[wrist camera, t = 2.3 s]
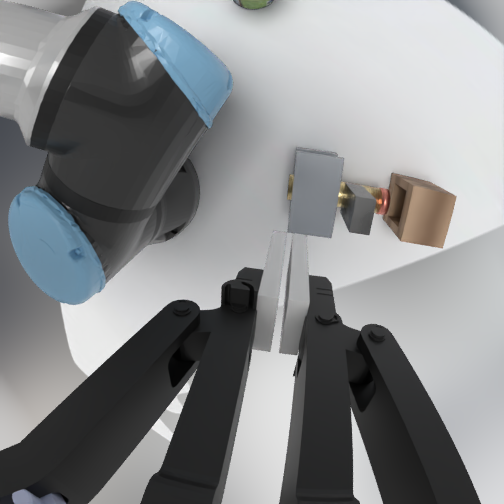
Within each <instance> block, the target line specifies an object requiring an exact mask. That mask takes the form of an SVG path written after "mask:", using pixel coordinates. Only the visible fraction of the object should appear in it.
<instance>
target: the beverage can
mask: <svg viewBox="0 0 504 504" xmlns="http://www.w3.org/2000/svg"><path fill="white" fill-rule="evenodd" d="M233 1H234V2H235V3H236V4H238V5H239V6H241V7H244V8H248V9H259V8H263V7H265V6H267V5H269V4H270V3H272V2H273V0H233Z"/></svg>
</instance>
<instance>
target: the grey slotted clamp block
mask: <svg viewBox="0 0 504 504" xmlns="http://www.w3.org/2000/svg"><path fill="white" fill-rule="evenodd" d="M337 156H338V154H337V153H334V152H327V151H321V150H314V149H307V148H299V147H297V150H296V160H295V169H294V182H293V190H292V199H291V204H290V212H289V223H288V232H289V233H297V234H304V235H312V236H319V237H326V238H331V237H332V232H333V226H334V221H335V215H336V209H337V203H338V197H339V191H340V184H341V178H342V171H343V164H344V158H341V157H337Z"/></svg>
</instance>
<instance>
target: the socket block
mask: <svg viewBox="0 0 504 504" xmlns="http://www.w3.org/2000/svg"><path fill="white" fill-rule="evenodd" d="M389 192H390V206H389V209H388V212H387V214H386V215H384V216H383V220H384V221H385V222H386V223H387V225H388V226H389V227H390V228H391V229H392V231H393V232H394V233H395V235H396V236H397V237H398V238H399V240H400V241H402V242H409V243H414V244H420V245H426V246H432V247H438V248H443V245H444V242H445V238H446V235H447V232H448V228H449V224H450V221H451V217H452V213H453V209H454V205H455V201H456V196H455V195H453V194H451V193H449V192H448V191H446V190H444V189H442V188H440V187H438V186H437V185H435V184H433V183H431V182H428V181H424V180H420V179H416V178H412V177H408V176H403V175H399V174H394V173H392V175H391V180H390V186H389Z"/></svg>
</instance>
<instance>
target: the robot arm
mask: <svg viewBox="0 0 504 504" xmlns="http://www.w3.org/2000/svg"><path fill="white" fill-rule="evenodd" d="M118 12H119V14H116V13H113V12H111V11H108V10H106V9H103V8H100V7H98V6H96V7H93V8H90V9H88V10H85V11H83V12H81V13H78V14H76V15H73V16H67V17H66V16H63V15H60V14H56V13H53V12H50V11H46V10H43V9H39V8H35V7H31V6H26V5H22V4H18V3H13V2H8V1H3V0H0V116H1V117H5V118H8V119H12V120H15V121H16V122H17V123H18V124H19V126H20V129H21V131H22V134H23V137H24V139H25V142H26V144H27V145H28V146H32V147H35V148H38V149H42V150H45V151H48V155H47V158H46V161H45V164H44V167H43V170H42V173H41V177H40V180H39V182H38V183H37V185H36V186H31V187H30V186H29V187H26V188H24V190H22V192H21V193H20V194H18V195H17V196H16V197H15V198H14V200H13V201H12V203H11V206H10V209H9V218H8V223H9V232H10V237H11V241H12V244H13V247H14V250H15V252H16V254H17V256H18V258H19V261H20V262H21V264H22V266H23V268H24V269H25V271H26V272H27V274H28V275H29V277H30V278H31V279H32V280H33V282H34V283H35V284H36V285H37V286H38V287H39V288H40V289H41V290H42V291H43V292H45V293H46V294H47V295H48V296H50V297H51V298H53V299H55V300H57V301H59V302H61V303H67V304H71V305H77V304H81V303H84V302H85V301H87V300H88V299H89V298H91V297H92V296H93V295H94V294H95V293H98V292H101V290H103V288H104V287H105V284H106V283H107V282H108V281H109V280H110V279H111V278H112V277H114V276H115V275H116V274H117V273H118V272H119V271H120V270H121V269H122V268H123V267H124V266H125V265H126V264H127V263H128V262H129V261H130V260H131V259H133V258H134V257H135V256H136V255H137V254H138V253H139V252H140V251H141V250H142V249H143V248H145V247H146V246H147V245H151V244H156V243H161V242H164V241H167V240H170V239H171V238H173V237H175V236H176V235H178V234H179V233H180V232H181V231H182V230H183V229H184V228H185V227H186V226H187V225H188V224H189V223H190V222H191V220H192V219H193V217H194V215H195V213H196V210H197V207H198V203H199V194H200V191H199V182H198V177H197V174H196V172H195V169H194V167H193V165H192V163H191V162H190V160H189V159H188V156H189V155H190V153H191V152H192V150H193V149H194V147H195V146H196V144H197V143H198V141H199V140H200V139H201V137H202V136H203V134H204V133H205V132H206V130H207V129H210V128H211V127H212V124H213V122H212V121H213V119H214V117H215V116H216V114H217V113H218V111H219V110H220V108H221V107H222V105H223V104H224V103H225V101H226V100H227V98H228V97H229V95H230V93H231V91H232V88H233V79H232V76H231V73H230V71H229V70H228V68H227V67H226V66H225V65H224V63H223V62H222V61H221V60H220V59H219V58H218V57H217V56H216V55H215V54H214V53H212V52H211V51H210V50H209V49H208V48H207V47H206V46H205V45H203V44H202V43H201V42H200V41H199V40H197V39H196V38H195V37H194V36H192V35H191V34H190V33H188V32H187V31H186V30H184V29H183V28H182V27H180V26H179V25H177V24H176V23H175V22H173V21H172V20H170V19H168V18H167V17H165V16H164V15H160V14H159V13H158V12H156V11H154V10H152V9H150V8H149V7H148V6H146V5H144V4H142V3H140V2H137V1H130V2H127V3H126V4H125V5H123V6H121V7H120V8H119V10H118ZM286 234H287V232H280V231H273V234H272V238H271V242H270V246H269V251H268V255H267V259H266V263H265V267H264V270H261V269H254V268H247V267H245V268H243V269H242V270H241V271H239V272H238V275H237V277H236V279H235V280H230V281H228V282H225V283H224V284H223V285H222V292H221V307H220V308H217V309H213V310H200V308H199V306H198V305H197V304H196V303H195V302H193V301H189V300H177V301H173V302H171V303H169V304H168V305H167V306H166V307H164V308H163V309H162V310H161V311H160V312H159V313H158V314H157V315H156V316H154V317H153V318H152V319H151V320H150V321H149V322H148V323H147V324H146V325H145V326H143V327H142V328H141V329H140V330H139V331H138V332H137V333H136V334H135V335H134V336H133V337H131V338H130V339H129V340H128V341H127V342H126V343H125V344H124V345H123V346H122V347H121V348H119V349H118V350H117V351H116V352H115V353H114V354H113V355H112V356H111V357H110V358H109V359H107V360H106V361H105V362H104V363H103V364H102V365H101V366H100V367H99V368H98V369H97V370H96V371H95V372H93V373H92V374H91V375H90V376H89V377H88V378H87V379H86V380H85V381H84V382H83V383H82V384H81V385H80V386H79V387H78V388H76V389H75V390H74V391H73V392H72V393H71V394H70V395H69V396H68V397H67V398H66V399H65V400H64V401H63V402H62V403H61V404H60V405H58V406H57V407H56V408H55V409H54V410H53V411H52V412H51V413H50V414H49V415H48V416H47V417H46V418H45V419H44V420H43V421H42V422H41V423H40V424H39V425H38V426H37V427H36V428H35V429H33V430H32V431H31V432H30V433H29V434H28V435H27V436H26V437H25V438H24V439H23V440H22V441H21V442H20V443H18V444H16V445H14V446H11V447H9V448H6V449H4V450H1V451H0V504H88V503H89V502H90V501H91V500H92V499H93V498H94V497H95V496H96V495H97V494H98V493H99V491H100V490H101V489H102V488H103V487H104V485H105V484H106V483H107V482H108V481H109V480H110V478H111V477H112V476H113V475H114V473H115V472H116V471H117V470H118V469H119V467H120V466H121V465H122V464H123V462H124V461H125V460H126V459H127V457H128V456H129V455H130V454H131V452H132V451H133V450H134V449H135V448H136V446H137V445H138V444H139V443H140V441H141V440H142V439H143V438H144V436H145V435H146V434H147V433H148V431H149V430H150V429H151V428H152V426H153V425H154V424H155V422H156V421H157V420H158V419H159V417H160V416H161V415H162V413H163V412H164V411H165V410H166V408H167V407H168V406H169V405H170V403H171V402H172V401H173V399H174V398H175V397H176V395H177V394H178V393H179V392H180V390H181V389H182V388H183V386H184V385H185V384H186V382H187V381H188V380H189V378H190V377H191V376H192V375H193V373H194V372H195V371H196V369H197V371H196V374H195V376H194V379H193V382H192V385H191V387H190V390H189V393H188V395H187V398H186V401H185V404H184V406H183V409H182V412H181V414H180V417H179V420H178V423H177V425H176V428H175V431H174V434H173V437H172V439H171V442H170V445H169V448H168V450H167V453H166V456H165V459H164V462H163V464H162V467H161V469H160V470H159V472H157V473H155V474H154V475H153V476H152V477H151V479H150V480H149V483H148V485H147V487H146V490H145V492H144V495H143V498H142V501H141V503H140V504H221V502H222V498H223V493H224V489H225V484H226V479H227V475H228V470H229V465H230V461H231V456H232V451H233V446H234V441H235V436H236V432H237V426H238V422H239V416H240V412H241V406H242V402H243V397H244V391H245V386H246V381H247V376H248V371H249V366H250V360H251V353H252V349H255V350H261V351H268V352H270V350H271V345H272V338H273V332H274V326H275V319H276V313H277V306H278V300H279V292H280V285H281V277H282V268H283V260H284V252H285V243H286ZM298 350H299V355H298V359H297V363H296V367H295V370H294V374H293V376H295V384H294V394H293V404H292V414H291V422H290V430H289V439H288V447H287V454H286V463H285V469H284V476H283V483H282V490H281V496H280V502H279V504H360V502H359V501H358V500H357V499H356V498H355V497H354V495H353V448H352V424H351V408H352V411H353V414H354V417H355V419H356V422H357V425H358V428H359V430H360V433H361V437H362V439H363V442H364V445H365V448H366V451H367V454H368V457H369V460H370V463H371V466H372V469H373V473H374V475H375V479H376V482H377V485H378V488H379V491H380V494H381V498H382V501H383V504H481V503H480V500H479V498H478V495H477V493H476V490H475V488H474V486H473V483H472V481H471V479H470V477H469V474H468V472H467V470H466V468H465V465H464V463H463V461H462V459H461V457H460V455H459V453H458V451H457V449H456V447H455V444H454V442H453V440H452V438H451V437H450V434H449V432H448V431H447V429H446V427H445V425H444V423H443V421H442V419H441V417H440V415H439V413H438V412H437V410H436V408H435V406H434V404H433V402H432V401H431V399H430V397H429V395H428V393H427V392H426V390H425V388H424V387H423V385H422V383H421V381H420V380H419V378H418V376H417V374H416V372H415V371H414V370H413V367H412V366H411V364H410V362H409V361H408V359H407V357H406V356H405V354H404V352H403V351H402V349H401V348H400V346H399V344H398V343H397V341H396V340H395V338H394V336H393V335H392V333H391V332H390V331H389V330H388V329H386V328H385V327H383V326H381V325H377V324H368V325H365V326H364V327H363V328H362V330H361V331H358V330H355V329H352V328H349V327H347V326H346V325H344V324H342V320H341V317H340V316H339V315H338V314H337V313H336V310H335V303H334V297H333V291H332V285H331V282H330V281H329V280H328V279H327V278H326V277H320V276H312V275H309V272H308V252H307V235H303V234H295V233H293V237H292V245H291V252H290V259H289V265H288V272H287V281H286V291H285V302H284V312H283V321H282V331H281V340H280V349H279V353H283V354H291V355H297V354H298ZM350 405H351V406H350Z"/></svg>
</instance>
